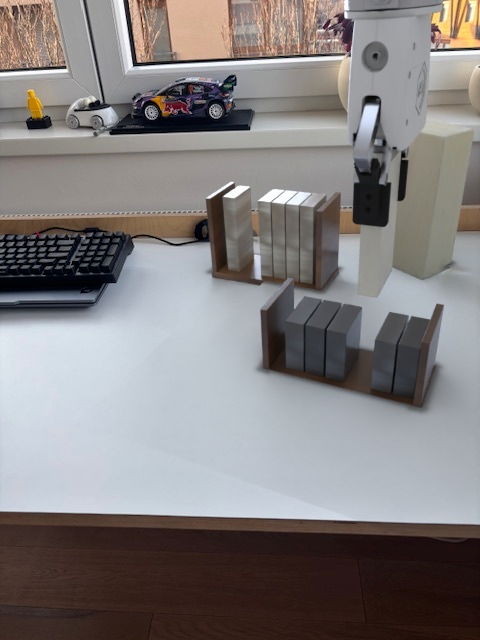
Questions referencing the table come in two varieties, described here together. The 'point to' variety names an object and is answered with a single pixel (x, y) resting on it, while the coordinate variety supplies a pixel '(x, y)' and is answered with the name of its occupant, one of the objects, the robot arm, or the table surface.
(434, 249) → the tall beige block
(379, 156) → the white book
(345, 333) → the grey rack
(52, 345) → the table surface
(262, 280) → the brown rack
